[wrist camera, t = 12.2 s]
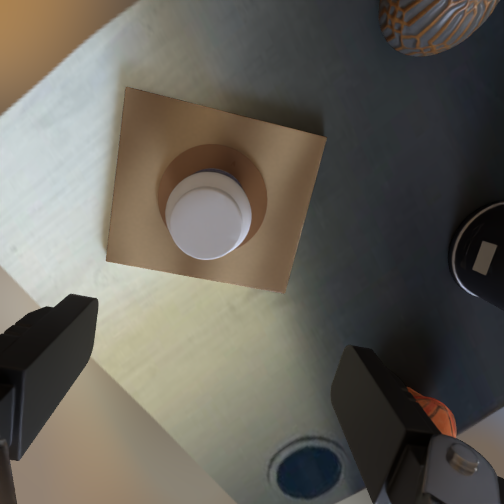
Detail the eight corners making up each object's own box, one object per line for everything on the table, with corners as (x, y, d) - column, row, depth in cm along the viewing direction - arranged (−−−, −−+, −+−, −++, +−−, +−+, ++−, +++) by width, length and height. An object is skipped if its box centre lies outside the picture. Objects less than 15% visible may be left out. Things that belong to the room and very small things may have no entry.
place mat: (324, 137, 27) (328, 136, 26) (283, 290, 31) (285, 295, 30) (128, 88, 25) (124, 85, 24) (108, 258, 29) (104, 262, 28)
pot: (375, 453, 37) (400, 503, 30) (354, 389, 36) (375, 424, 30) (444, 432, 36) (486, 478, 30) (424, 367, 36) (461, 398, 29)
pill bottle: (168, 182, 26) (137, 195, 17) (231, 158, 26) (234, 158, 17) (195, 242, 28) (179, 285, 18) (254, 220, 28) (269, 252, 18)
